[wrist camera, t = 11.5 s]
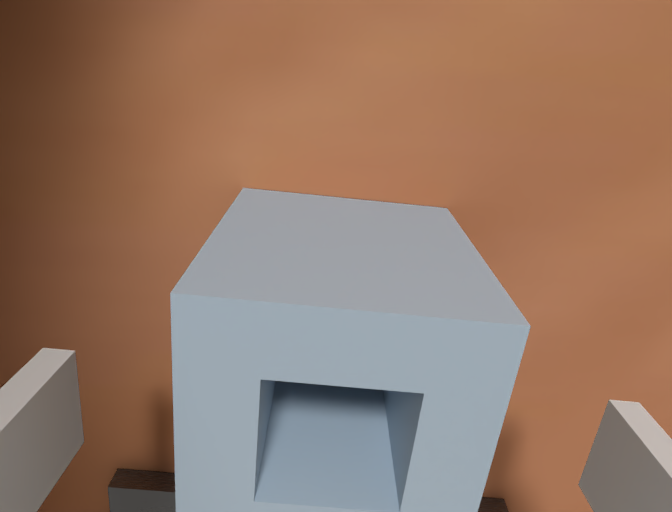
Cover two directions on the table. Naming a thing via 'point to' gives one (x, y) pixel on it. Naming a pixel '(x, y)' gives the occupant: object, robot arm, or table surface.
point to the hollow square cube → (338, 360)
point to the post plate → (159, 493)
